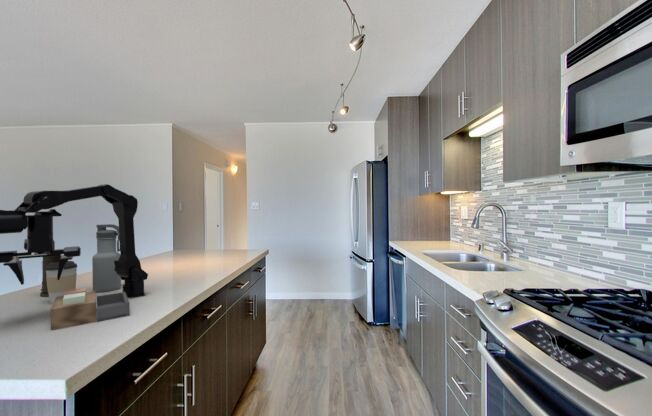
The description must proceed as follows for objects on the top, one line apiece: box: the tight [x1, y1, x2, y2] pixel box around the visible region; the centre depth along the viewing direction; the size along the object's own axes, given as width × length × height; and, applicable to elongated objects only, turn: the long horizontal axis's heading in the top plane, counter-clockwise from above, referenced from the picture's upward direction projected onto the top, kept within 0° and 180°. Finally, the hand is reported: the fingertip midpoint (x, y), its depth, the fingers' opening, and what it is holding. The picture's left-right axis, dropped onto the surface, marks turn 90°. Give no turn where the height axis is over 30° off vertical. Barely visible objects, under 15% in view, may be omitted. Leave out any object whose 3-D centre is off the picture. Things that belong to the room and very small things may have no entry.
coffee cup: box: [45, 260, 78, 305], centre depth 109 cm, size 9×9×15 cm
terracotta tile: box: [65, 287, 87, 295], centre depth 94 cm, size 5×5×2 cm
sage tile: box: [63, 291, 87, 306], centre depth 89 cm, size 5×5×2 cm
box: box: [96, 291, 131, 323], centre depth 97 cm, size 8×17×4 cm, turn 38°
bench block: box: [49, 290, 97, 331], centre depth 91 cm, size 10×16×6 cm, turn 38°
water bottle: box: [91, 223, 122, 293], centre depth 125 cm, size 10×10×28 cm
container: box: [39, 248, 64, 298], centre depth 119 cm, size 9×9×18 cm
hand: (41, 282), depth 89 cm, fingers open, 8 cm apart
